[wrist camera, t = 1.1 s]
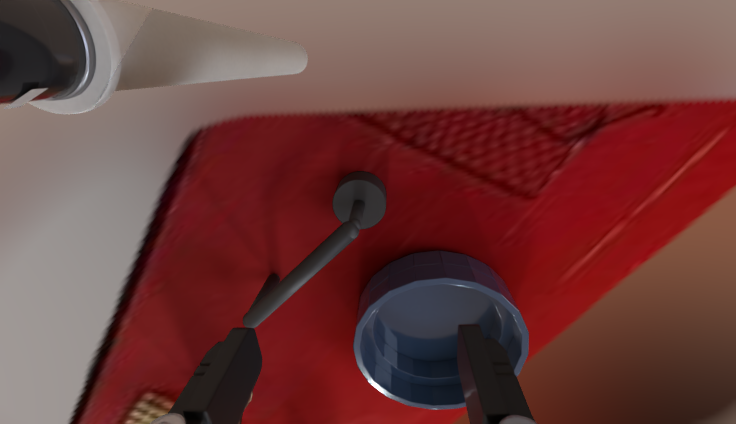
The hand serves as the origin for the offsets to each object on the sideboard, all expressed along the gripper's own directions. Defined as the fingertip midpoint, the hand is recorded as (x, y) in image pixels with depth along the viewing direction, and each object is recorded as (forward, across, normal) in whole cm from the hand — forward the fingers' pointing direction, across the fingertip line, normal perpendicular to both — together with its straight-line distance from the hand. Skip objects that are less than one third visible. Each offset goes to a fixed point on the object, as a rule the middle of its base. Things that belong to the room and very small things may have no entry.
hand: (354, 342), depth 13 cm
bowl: (+18, -5, +14) cm, 23 cm away
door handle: (+18, +5, +4) cm, 19 cm away
